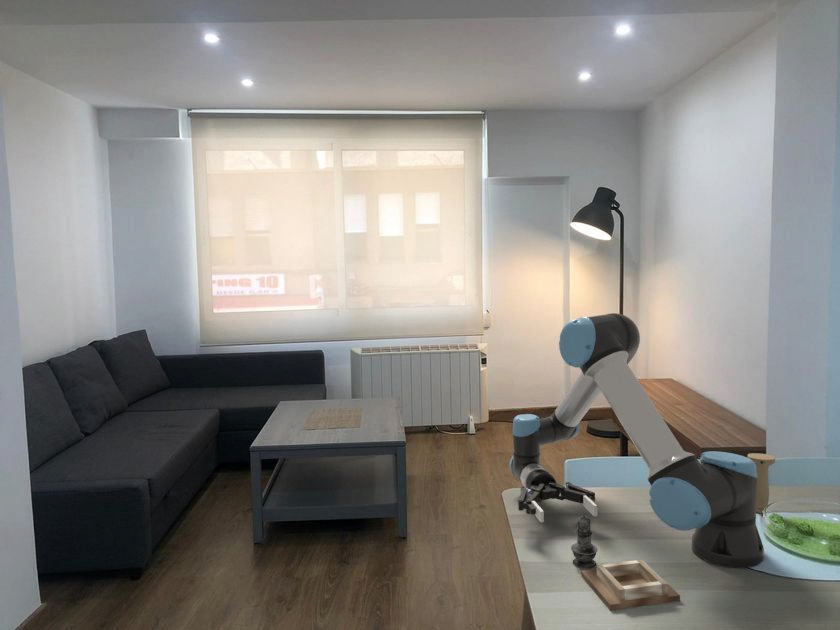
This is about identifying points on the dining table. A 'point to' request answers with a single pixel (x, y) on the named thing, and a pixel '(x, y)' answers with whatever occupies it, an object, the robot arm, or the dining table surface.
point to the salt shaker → (584, 545)
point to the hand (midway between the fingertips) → (569, 514)
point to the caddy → (629, 585)
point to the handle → (762, 478)
